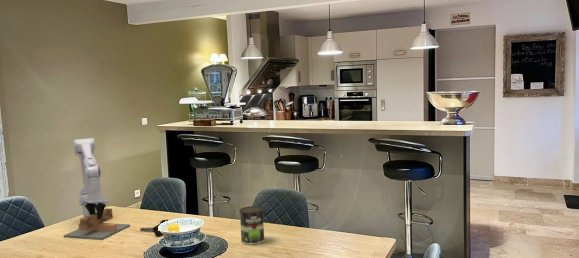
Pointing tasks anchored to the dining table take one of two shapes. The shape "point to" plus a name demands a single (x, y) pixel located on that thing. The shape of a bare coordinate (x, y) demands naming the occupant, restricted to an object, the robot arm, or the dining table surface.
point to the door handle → (153, 229)
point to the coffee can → (252, 225)
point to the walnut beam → (95, 219)
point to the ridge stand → (97, 231)
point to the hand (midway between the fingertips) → (96, 218)
